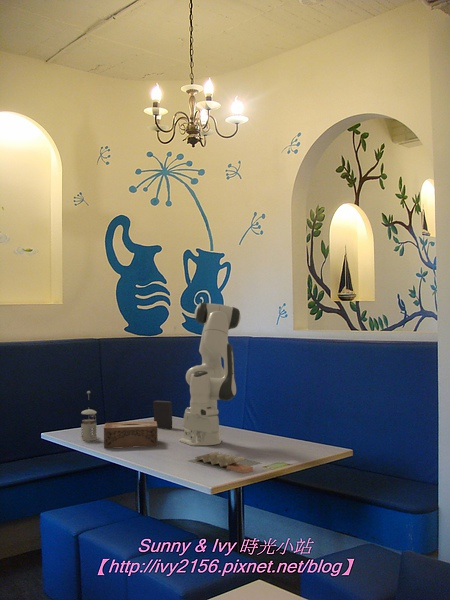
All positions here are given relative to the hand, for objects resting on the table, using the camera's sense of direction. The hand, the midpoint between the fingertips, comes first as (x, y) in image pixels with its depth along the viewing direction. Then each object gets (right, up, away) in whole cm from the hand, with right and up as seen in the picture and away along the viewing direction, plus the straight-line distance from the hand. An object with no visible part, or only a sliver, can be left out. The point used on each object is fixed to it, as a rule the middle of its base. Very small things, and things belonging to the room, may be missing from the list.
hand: (200, 441), depth 275 cm
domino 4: (+10, -7, -12) cm, 17 cm away
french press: (-60, -12, +58) cm, 84 cm away
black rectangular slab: (-25, -12, +87) cm, 91 cm away
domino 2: (+3, -7, -3) cm, 9 cm away
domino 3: (+7, -7, -7) cm, 12 cm away
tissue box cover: (-36, -11, +42) cm, 56 cm away
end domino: (+13, -7, -15) cm, 21 cm away
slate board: (+10, -9, -4) cm, 14 cm away
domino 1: (0, -7, 0) cm, 7 cm away
